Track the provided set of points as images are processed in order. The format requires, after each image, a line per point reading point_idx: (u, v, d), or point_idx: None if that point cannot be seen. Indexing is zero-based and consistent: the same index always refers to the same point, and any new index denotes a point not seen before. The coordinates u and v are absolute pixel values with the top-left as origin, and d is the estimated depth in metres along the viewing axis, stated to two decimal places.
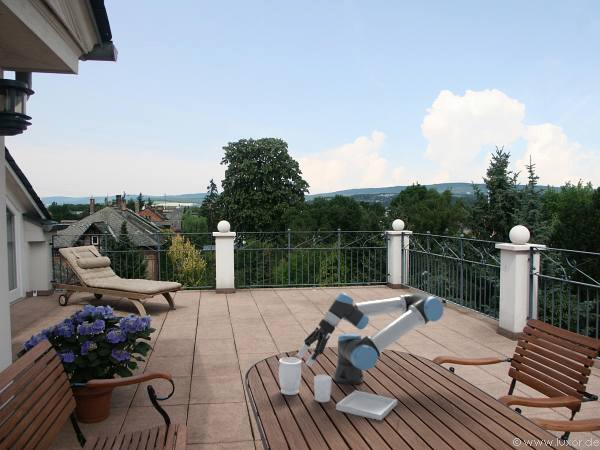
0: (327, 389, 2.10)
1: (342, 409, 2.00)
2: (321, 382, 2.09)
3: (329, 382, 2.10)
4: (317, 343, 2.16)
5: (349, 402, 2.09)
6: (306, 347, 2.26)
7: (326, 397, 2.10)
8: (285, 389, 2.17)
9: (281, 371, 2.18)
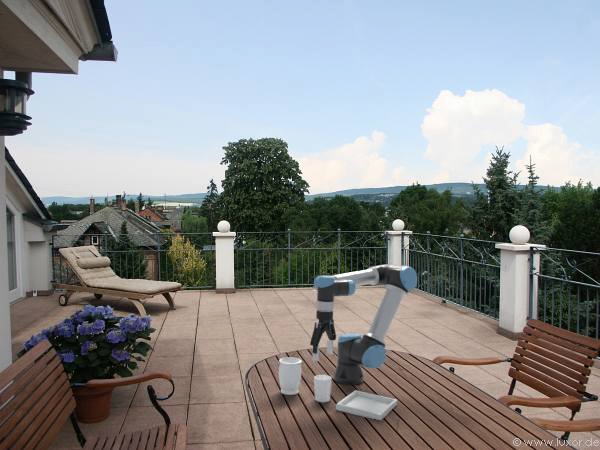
0: (327, 389, 2.10)
1: (342, 409, 2.00)
2: (321, 382, 2.09)
3: (329, 382, 2.10)
4: None
5: (349, 402, 2.09)
6: (330, 342, 2.19)
7: (326, 397, 2.10)
8: (285, 389, 2.17)
9: (281, 371, 2.18)
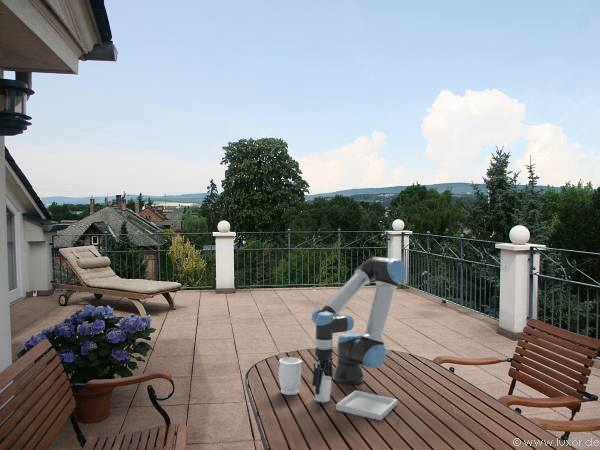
0: (327, 389, 2.10)
1: (342, 409, 2.00)
2: (321, 382, 2.09)
3: (329, 382, 2.10)
4: None
5: (349, 402, 2.09)
6: None
7: (326, 397, 2.10)
8: (285, 389, 2.17)
9: (281, 371, 2.18)
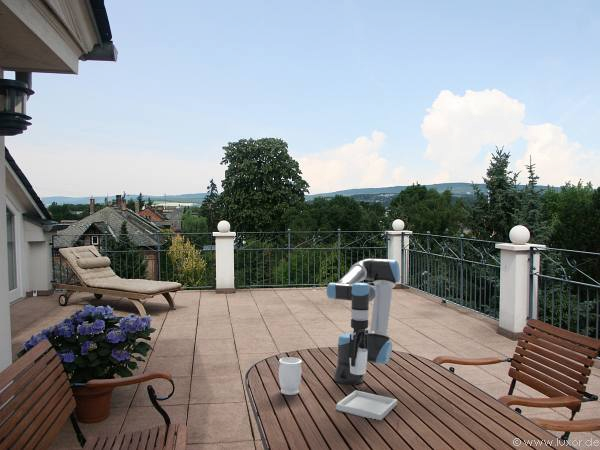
0: (363, 361, 2.03)
1: (342, 409, 2.00)
2: (357, 354, 2.03)
3: (365, 354, 2.04)
4: None
5: (349, 402, 2.09)
6: None
7: (362, 370, 2.03)
8: (285, 389, 2.17)
9: (281, 371, 2.18)
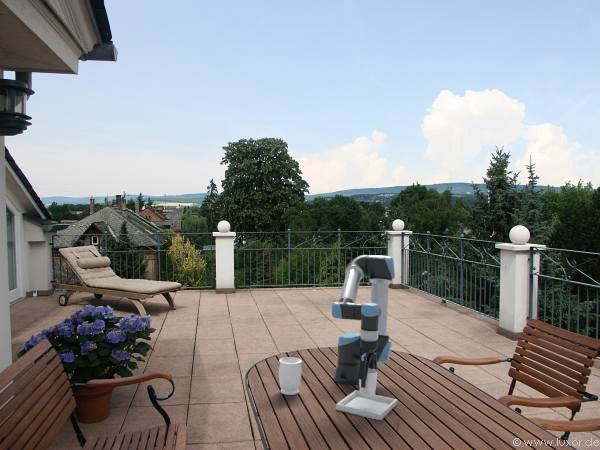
0: (373, 382, 2.02)
1: (342, 409, 2.00)
2: (367, 375, 2.01)
3: (375, 375, 2.02)
4: None
5: (349, 402, 2.09)
6: None
7: (372, 391, 2.02)
8: (285, 389, 2.17)
9: (281, 371, 2.18)
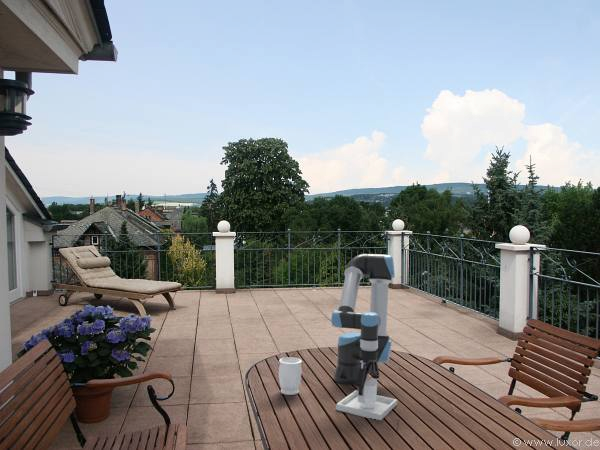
0: (373, 395, 2.02)
1: (342, 409, 2.00)
2: (367, 388, 2.02)
3: (375, 388, 2.03)
4: None
5: (349, 402, 2.09)
6: (373, 380, 2.10)
7: (372, 403, 2.02)
8: (285, 389, 2.17)
9: (281, 371, 2.18)
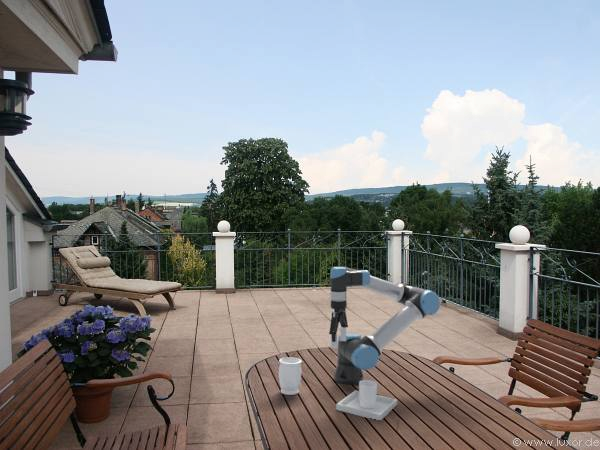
0: (373, 395, 2.02)
1: (342, 409, 2.00)
2: (367, 388, 2.02)
3: (375, 388, 2.03)
4: None
5: (349, 402, 2.09)
6: (343, 329, 2.29)
7: (372, 403, 2.02)
8: (285, 389, 2.17)
9: (281, 371, 2.18)
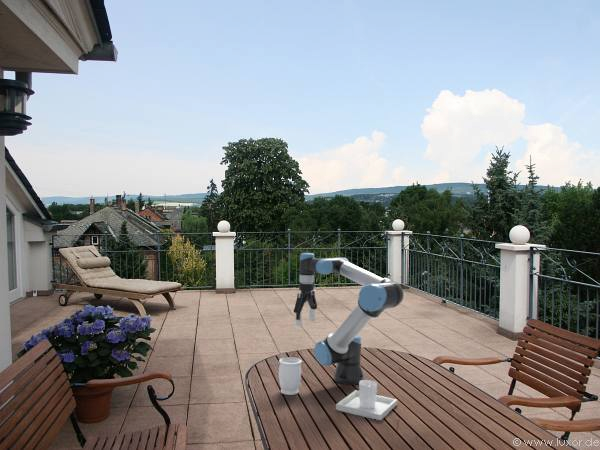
0: (373, 395, 2.02)
1: (342, 409, 2.00)
2: (367, 388, 2.02)
3: (375, 388, 2.03)
4: None
5: (349, 402, 2.09)
6: (312, 311, 2.51)
7: (372, 403, 2.02)
8: (285, 389, 2.17)
9: (281, 371, 2.18)
